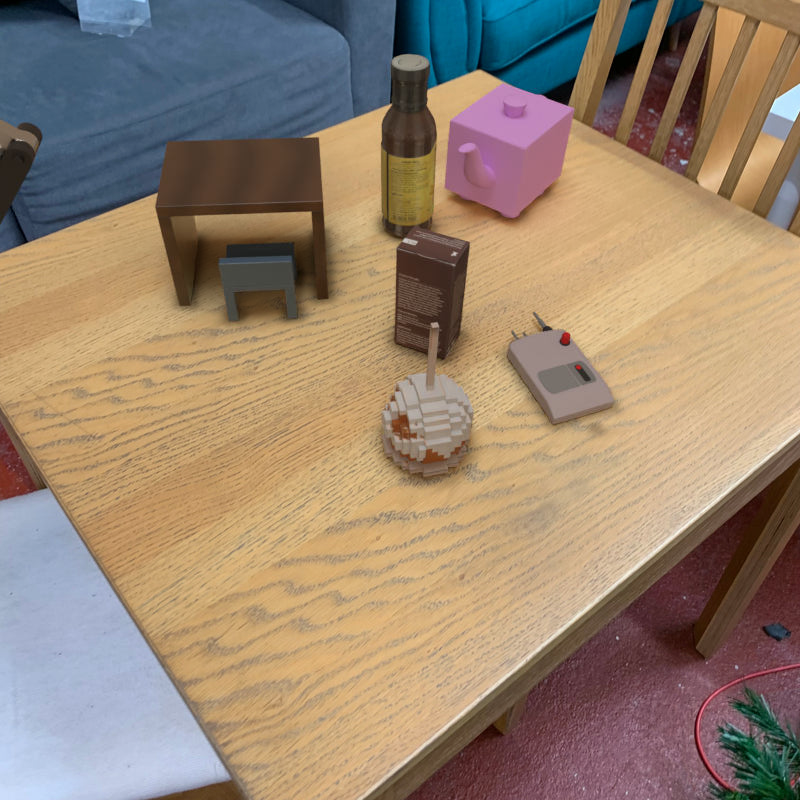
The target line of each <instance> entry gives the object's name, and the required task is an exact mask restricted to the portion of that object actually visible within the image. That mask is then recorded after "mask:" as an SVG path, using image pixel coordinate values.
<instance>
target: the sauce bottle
mask: <svg viewBox="0 0 800 800" xmlns="http://www.w3.org/2000/svg"><path fill="white" fill-rule="evenodd" d="M430 74H431V64H430V61H429V60H428V59H427V57H425V56H423V55H419V54H412V53H407V54H406V53H405V54H400V55H397V56H394V57H393V58H392V59H391V61H390V76H391V79H392V92H391V93H392V94H391V105H390V107H389V108H388V110H387V111H386V112H385V114H384V116H383V118H382V121H381V142H380V185H381V186H380V188H381V191H380V192H381V193H380V195H381V215H382V218H381V221H382V225H383V228H384V229H385V231H386V232H387V233H388V234H390V235H391V236H393V237H394V236H395V237H398V238H403V239H404V238H405V237H406V236H407V235H408V233H409V232H410V231H411V230H412V228H413V227H414V226H416V227H419V228H422V229H426V230H429V231H430V228H431V225H432V224H433V223H432V222H433V214H434V208H435V184H436V183H435V181H436V165H437V164H436V163H437V159H436V158H437V142H438V131H437V123H436V119H435V117H434V115H433V113H432V112H431V110H430V108H429V106H428V101H429V97H428V90H429V87H428V86H429V85H428V82H429V77H430Z"/></svg>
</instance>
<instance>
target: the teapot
mask: <svg viewBox="0 0 800 800" xmlns="http://www.w3.org/2000/svg"><path fill="white" fill-rule="evenodd" d="M575 110H576V109H575V108H574V107H573V106H569V105H566V104H563V103H561V102H558V101H555V100H552V99H549V98H547V96H545V95H542V94H536V93H532V92H529V91H527V90H523V89H521V88H518V87H515V86H512V85H510V84H506V83H504V82H503V83H501V84H499V85H497V86H496V87H495V88H493V89H492V90H491V91H489V92H488V93H486V94H484V95H483V96H481V98H479V99H477V100H476V101H475V102H473V103H472V104H471V105H469V106H468V107H466V108H465V109H464V110H462V111H461V112H459V113H457V115H455V116H454V117H453V118H451V119H450V120H449V127H448V140H447V152H446V163H445V174H444V175H445V176H444V188H443V189H445V190H448V191H450V192H452V193H455V194H457V195H458V196H459V197H460V198H461V199H463V200H466V201H473V202H476V203H478V204H480V205H483V206H485V207H488V208H489V209H492V210H494V211H497V212H499V213H500V215H501V216H502V217H505V218H508V219H514V218H518V217H519V216H520V215H521V212H522V211H523V210H524V209H526V207H528V206H529V205H530V204H531V203H532V202H533V201H535V199H537V198H538V197H539V196H541V195H543V194H544V193H545V190H547V188H549V187H550V186H551V185H552V184H553V183H554V182H555V181H556V180H557V179H559V177H561V175H562V171H563V167H564V161H565V157H566V154H567V153H566V152H567V148H568V144H569V143H568V142H569V138H570V133H571V128H572V124H573V119H574V114H575Z"/></svg>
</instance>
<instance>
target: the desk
mask: <svg viewBox="0 0 800 800" xmlns="http://www.w3.org/2000/svg"><path fill="white" fill-rule="evenodd" d="M322 177H323V176H322V162H321V147H320V137H319V136H314V137H313V136H312V137H311V136H310V137H280V138H279V137H277V138H275V137H273V138H271V137H270V138H241V139H239V138H238V139H237V138H235V139H203V140H202V139H201V140H199V139H198V140H168V141H167V142H166V146H165V151H164V157H163V162H162V168H161V173H160V178H159V183H158V189H157V194H156V200H155V206H154V208H155V212H156V216H157V221H158V225H159V229H160V233H161V237H162V241H163V245H164V249H165V254H166V257H167V261H168V265H169V270H170V274H171V279H172V280H173V285H174V289H175V294H176V298H177V302H178V305H179V306H180V307H182V306H191V305H192V299H193V297H192V295H193V289H194V288H193V286H194V279H195V270H196V263H197V262H196V261H197V254H198V244H199V233H198V228H197V224H196V220H195V217H199V216H200V217H201V216H221V215H222V216H224V215H225V216H227V215H229V216H230V215H254V214H283V213H307V212H308V213H309V212H311V225H312V239H313V254H314V255H313V257H314V269H315V285H316V298H317V300H328V299H329V284H328V283H329V282H328V265H327V247H326V245H327V244H326V230H325V229H326V228H325V227H326V226H325V210H324V192H323V179H322Z"/></svg>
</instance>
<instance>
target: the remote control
mask: <svg viewBox="0 0 800 800" xmlns="http://www.w3.org/2000/svg"><path fill="white" fill-rule="evenodd" d="M532 315H533V316H534V318H535V319H536V321H537V323H538V325H539V327H541V329H542V330H541V332H540V331H539V332H536V333H533V334H529V335H527V333H526V332H525V331H523V332H522V335H523V336H522V337H521V338H519V337H518V336H517V334H516V333H515V331H514V330H511V331H510V333H511V335H512V336H513V337H514V339H515V340H513V341H512V342H510V343H509V345H508V349H507V359H508V360H509V362H510V363H511V364H512V366H513V368H514V370H516V372H517V373H518V374H519V376H520V378H521V379H522V381H523V382H524V384H525V385H526V386H527V388H528V390H529V391H530V393H531V394H532V395H533V397H534V398H535V400H536V401H537V402H538V404H539V406H540V407H541V408H542V410H543V411H544V414H545V415H546V416H547V417H548V419H549V421H550V422H551V424H552V425H557V424H560V423H561V424H562V423H565V422H568V421H571V420H575V419H577V418H581V417H584V416H587V415H591V414H594V413H597V412H600V411H604V410H607V409H609V408H612V407H613V406H614V403H615V399H614V396H613V394H612V392H611V389H610V387H609V385H608V384H607V382H606V381H605V379H604V378H603V377H602V376H601V374H600V373H599V372H598V370H597V369H596V368H595V367H594V365H593V364H592V363H591V362H590V360H589V359H588V357H586V355H585V354H584V352H583V351H582V350H581V349H580V347H579V346H578V345H577V344H576V342H575V341H574V340H573V338H572V337H571V333H570V332H568V331H566V330H564V329H553V328H552V327H551V326H550V325H547V324H546V323H545V322H544V320H543V319H542V318H541V317H540V316H539V315H538V314H537V312H536V311H533V312H532ZM606 426H608V425H606Z"/></svg>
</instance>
